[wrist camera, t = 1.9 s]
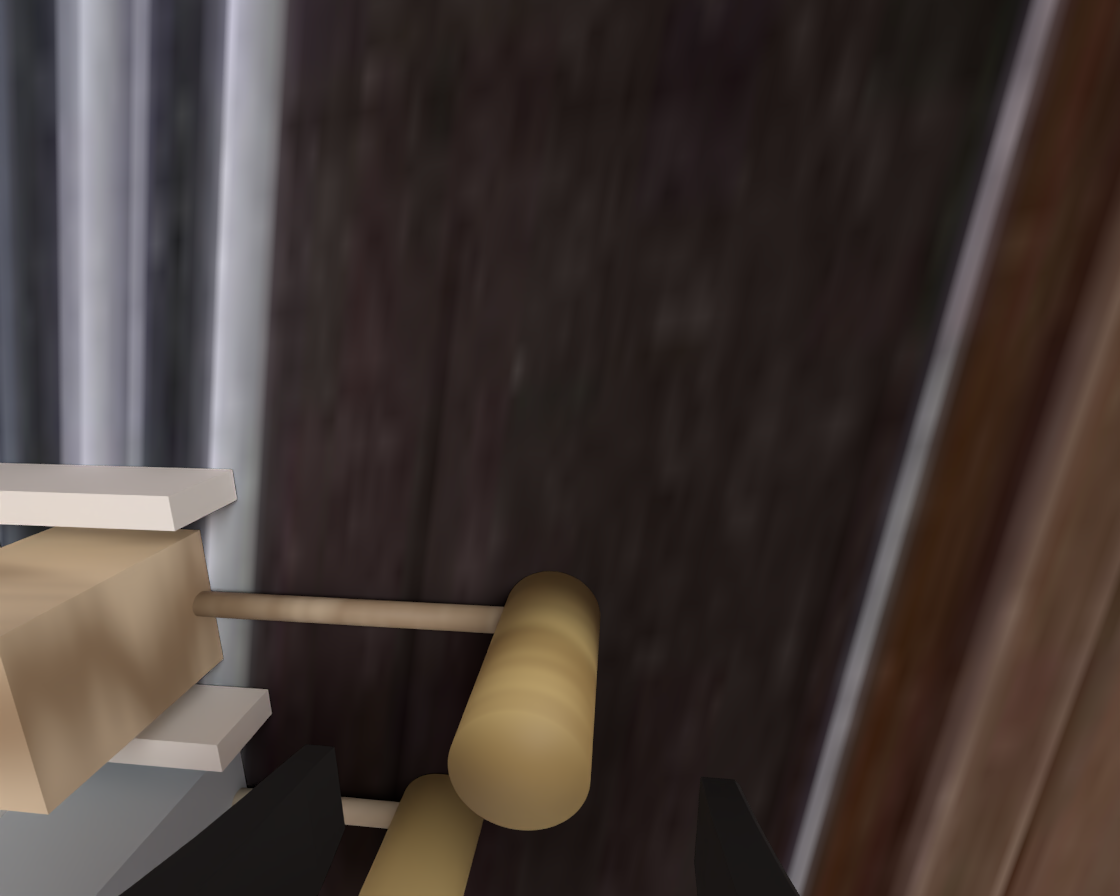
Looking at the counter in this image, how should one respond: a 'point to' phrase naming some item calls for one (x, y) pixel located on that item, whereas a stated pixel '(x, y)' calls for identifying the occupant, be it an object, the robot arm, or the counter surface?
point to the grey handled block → (192, 805)
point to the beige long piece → (192, 634)
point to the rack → (145, 504)
